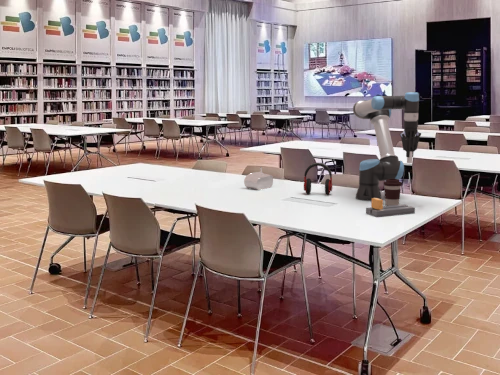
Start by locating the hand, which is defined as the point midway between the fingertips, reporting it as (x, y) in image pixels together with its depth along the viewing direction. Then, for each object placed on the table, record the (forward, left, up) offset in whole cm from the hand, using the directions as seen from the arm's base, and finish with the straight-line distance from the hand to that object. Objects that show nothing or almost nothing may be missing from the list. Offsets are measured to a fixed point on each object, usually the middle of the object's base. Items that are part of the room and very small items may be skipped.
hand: (409, 162), depth 339 cm
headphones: (-53, -29, -25) cm, 65 cm away
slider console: (+13, -21, -24) cm, 35 cm away
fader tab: (+13, -29, -23) cm, 40 cm away
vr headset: (-90, -53, -25) cm, 108 cm away
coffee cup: (-4, -8, -25) cm, 26 cm away
